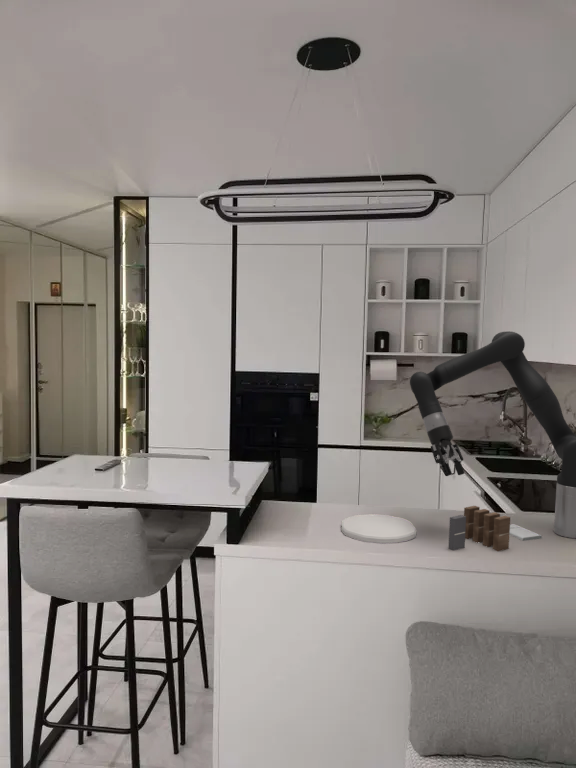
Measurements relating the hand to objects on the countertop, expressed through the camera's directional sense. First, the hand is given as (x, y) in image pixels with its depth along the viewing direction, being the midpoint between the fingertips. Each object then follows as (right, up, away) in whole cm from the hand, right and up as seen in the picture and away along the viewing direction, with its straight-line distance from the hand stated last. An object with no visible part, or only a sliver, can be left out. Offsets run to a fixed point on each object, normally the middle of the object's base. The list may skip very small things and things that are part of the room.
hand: (455, 474), depth 183 cm
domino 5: (+13, -22, -5) cm, 26 cm away
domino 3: (+9, -22, +2) cm, 23 cm away
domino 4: (+11, -22, -2) cm, 25 cm away
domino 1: (-1, -22, -5) cm, 23 cm away
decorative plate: (-23, -21, +10) cm, 33 cm away
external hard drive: (+24, -22, +10) cm, 34 cm away
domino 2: (+7, -21, +5) cm, 23 cm away
